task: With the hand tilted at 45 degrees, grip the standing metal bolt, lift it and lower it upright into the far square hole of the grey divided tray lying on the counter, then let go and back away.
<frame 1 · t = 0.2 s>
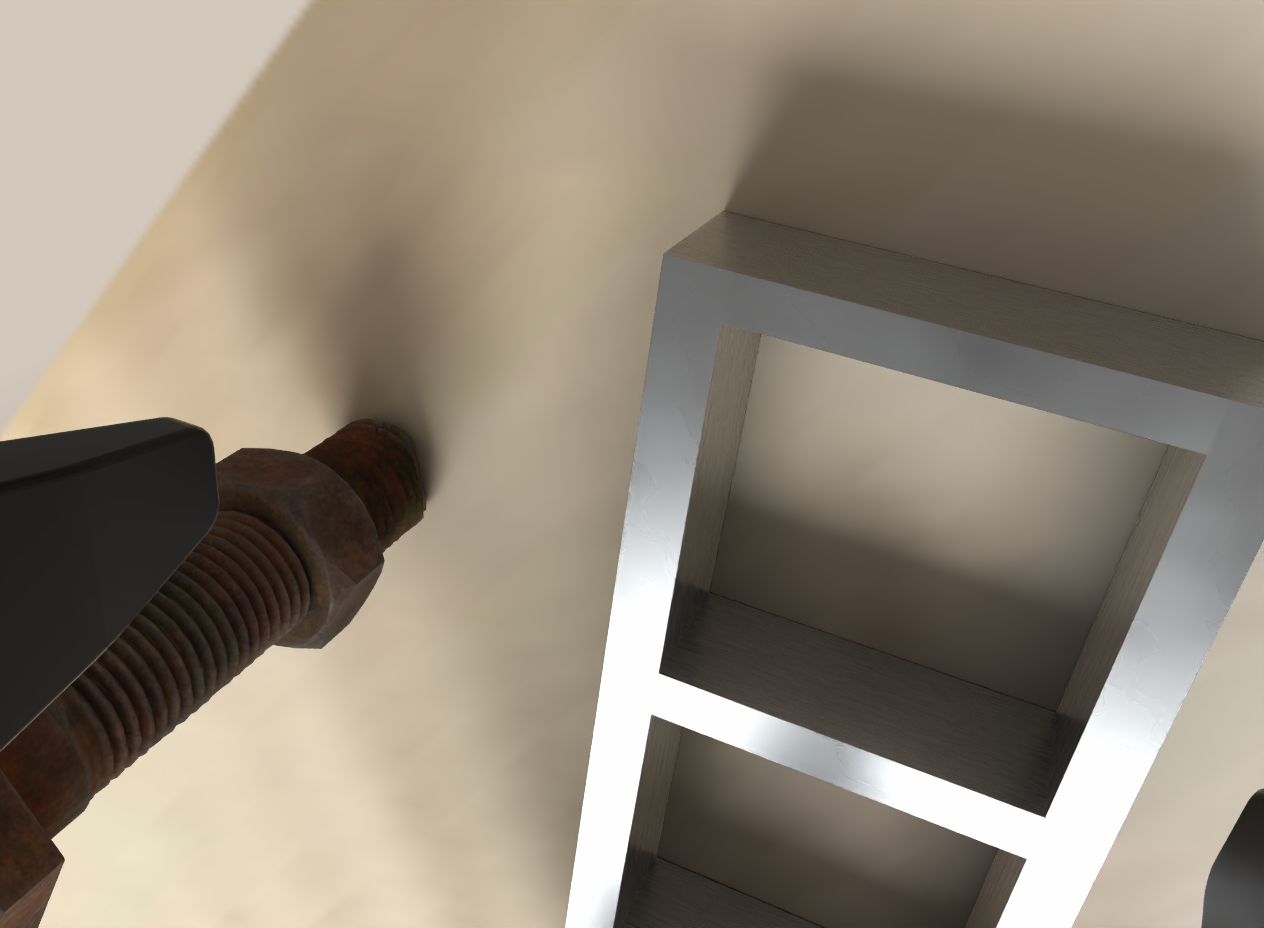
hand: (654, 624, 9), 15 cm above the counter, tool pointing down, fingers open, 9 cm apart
grey divided tray: (868, 669, 26), on the counter
bolt: (394, 465, 30), on the counter
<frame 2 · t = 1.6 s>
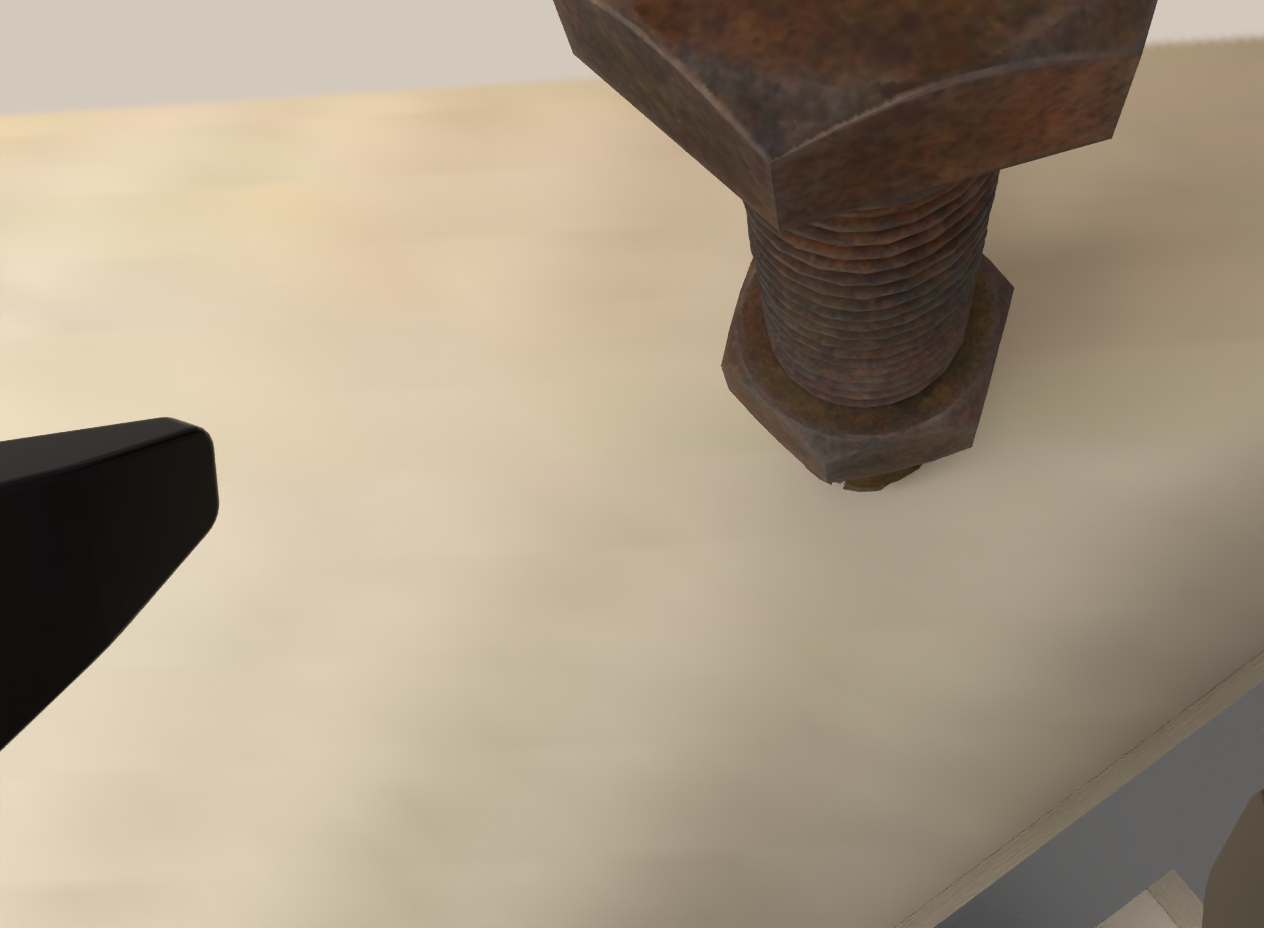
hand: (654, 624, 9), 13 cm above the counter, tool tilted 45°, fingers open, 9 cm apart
bolt: (865, 428, 23), on the counter
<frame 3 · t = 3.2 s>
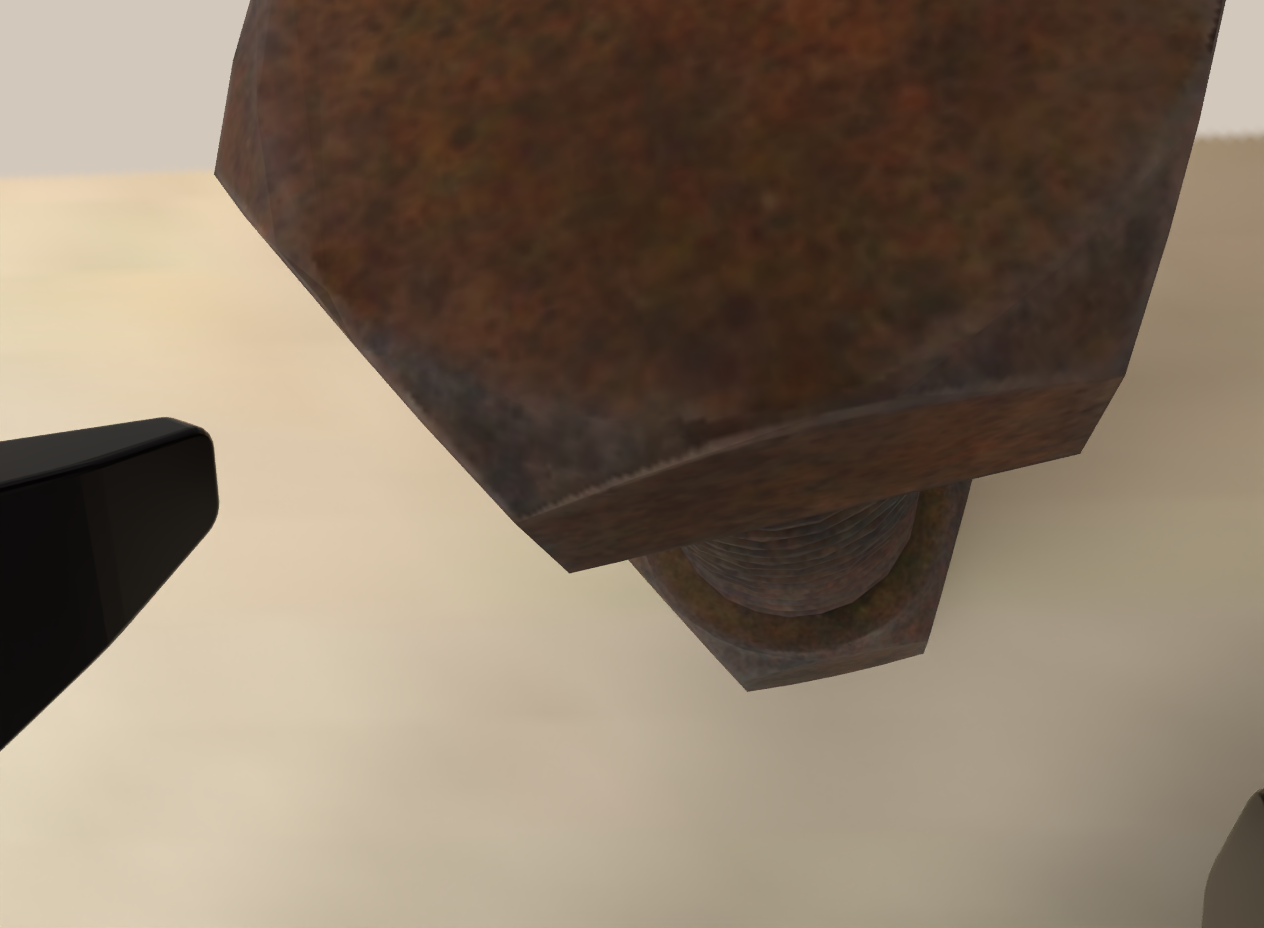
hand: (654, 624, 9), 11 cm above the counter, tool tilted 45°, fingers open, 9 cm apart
bolt: (809, 585, 20), on the counter
when the fingers open (8 cm above the counter, at t = 9.1 s): bolt stays where it is, resting in grey divided tray.
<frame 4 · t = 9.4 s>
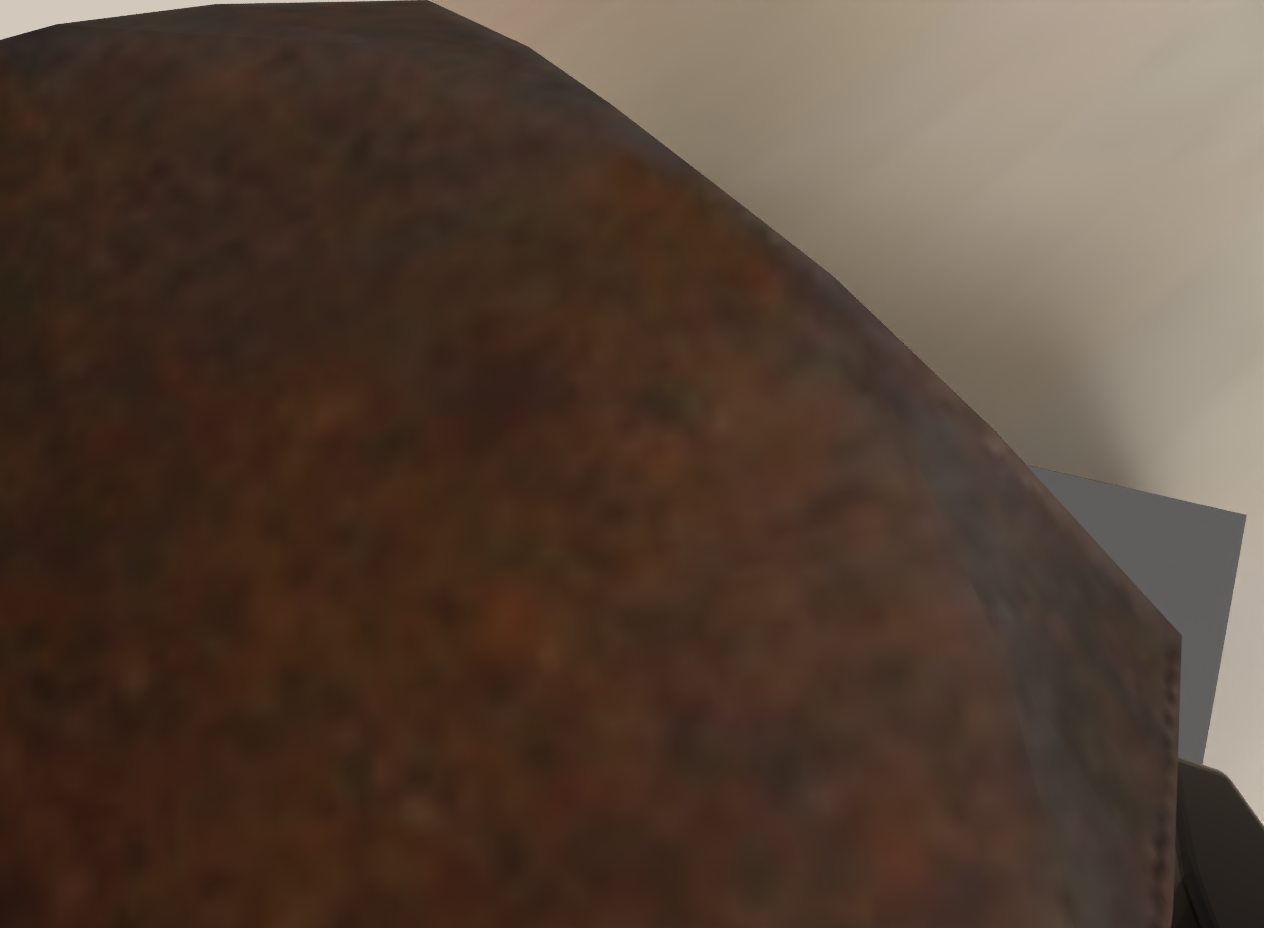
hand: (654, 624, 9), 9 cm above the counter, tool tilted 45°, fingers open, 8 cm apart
bolt: (711, 829, 17), resting in grey divided tray
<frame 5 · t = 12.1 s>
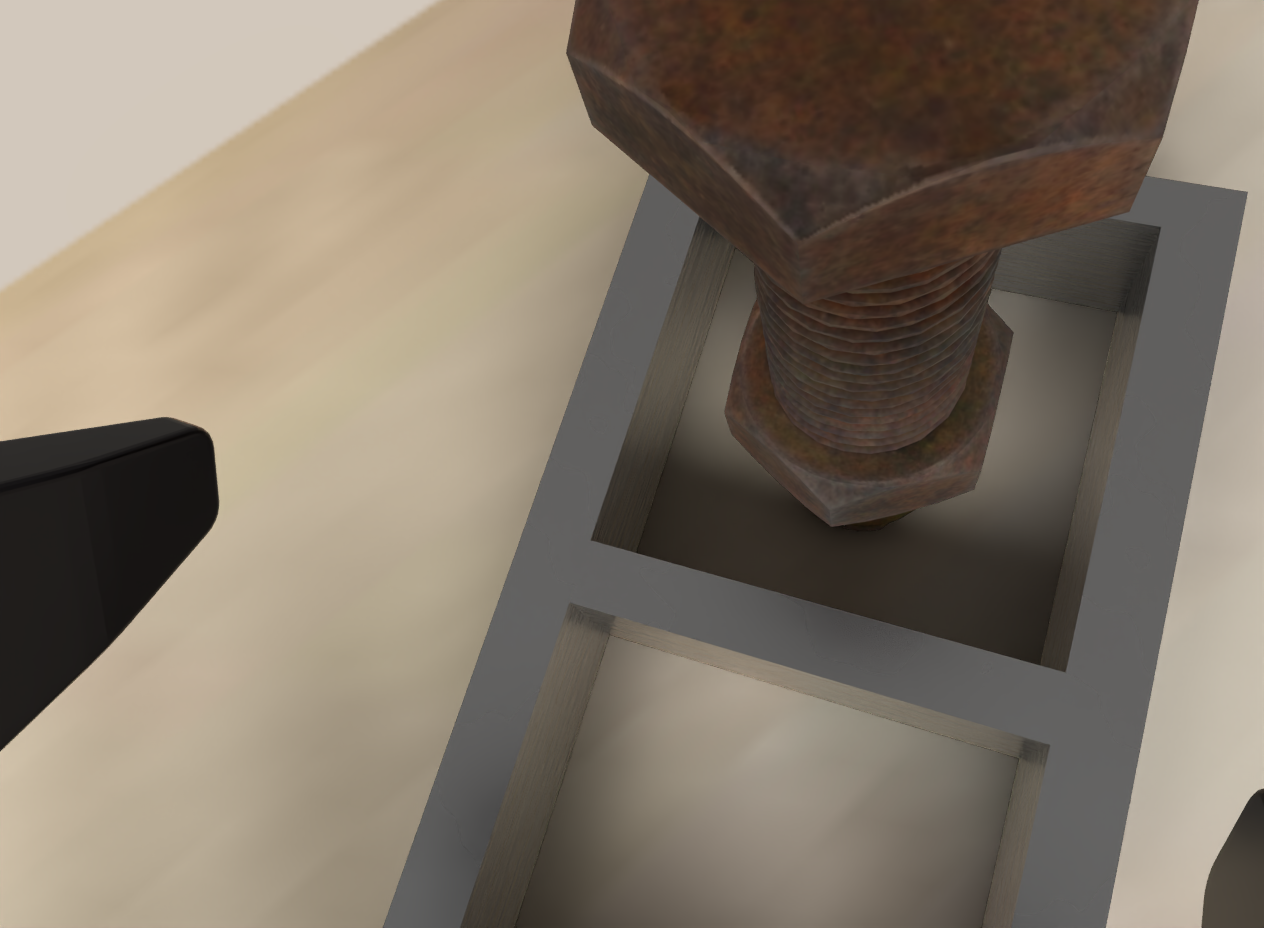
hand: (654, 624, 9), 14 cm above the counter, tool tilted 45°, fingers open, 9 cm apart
grey divided tray: (811, 664, 22), on the counter
bolt: (863, 466, 23), resting in grey divided tray
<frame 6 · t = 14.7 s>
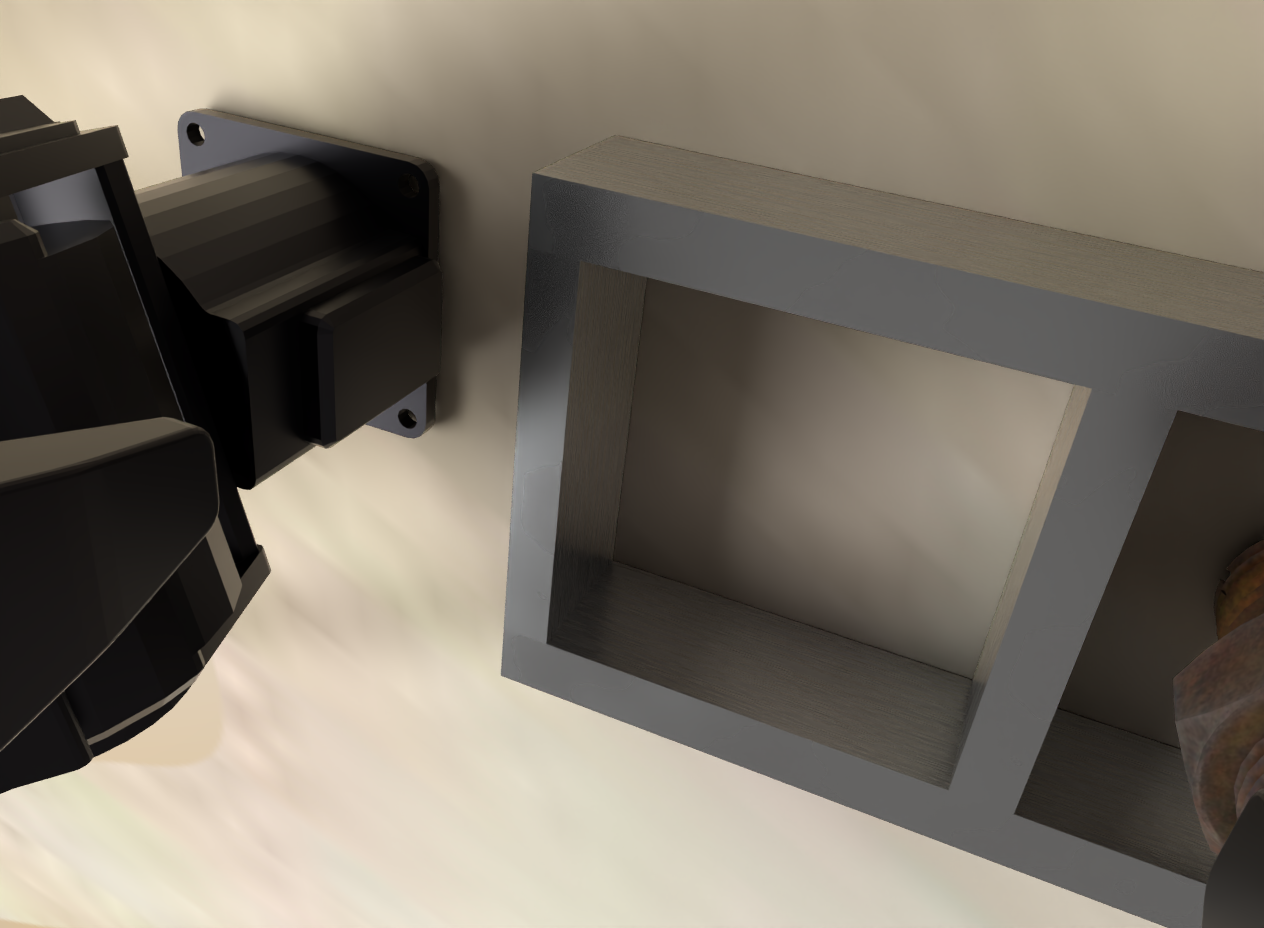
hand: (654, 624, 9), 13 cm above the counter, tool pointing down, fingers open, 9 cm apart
grey divided tray: (1061, 524, 21), on the counter
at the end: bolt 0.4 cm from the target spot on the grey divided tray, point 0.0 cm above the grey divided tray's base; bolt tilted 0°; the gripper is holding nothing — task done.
